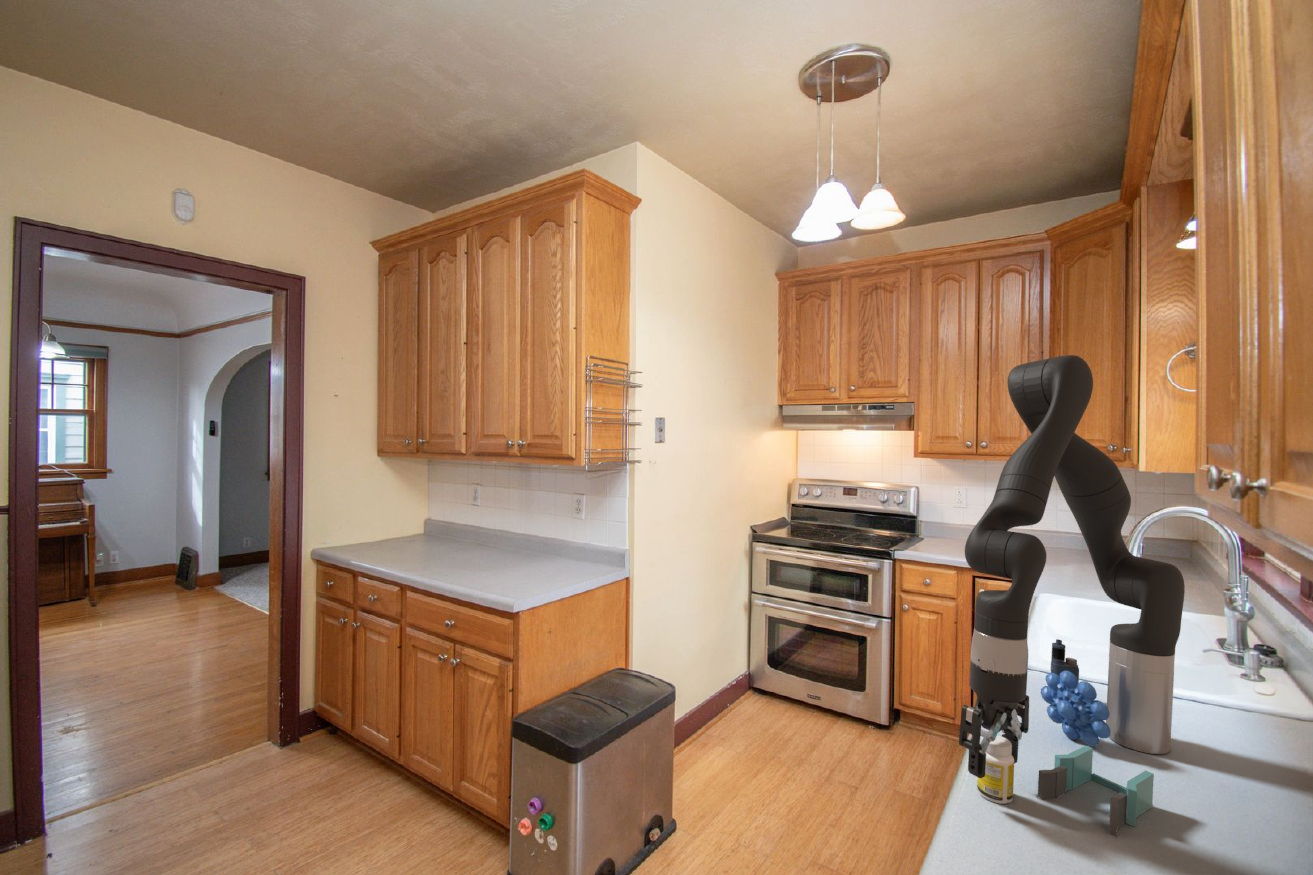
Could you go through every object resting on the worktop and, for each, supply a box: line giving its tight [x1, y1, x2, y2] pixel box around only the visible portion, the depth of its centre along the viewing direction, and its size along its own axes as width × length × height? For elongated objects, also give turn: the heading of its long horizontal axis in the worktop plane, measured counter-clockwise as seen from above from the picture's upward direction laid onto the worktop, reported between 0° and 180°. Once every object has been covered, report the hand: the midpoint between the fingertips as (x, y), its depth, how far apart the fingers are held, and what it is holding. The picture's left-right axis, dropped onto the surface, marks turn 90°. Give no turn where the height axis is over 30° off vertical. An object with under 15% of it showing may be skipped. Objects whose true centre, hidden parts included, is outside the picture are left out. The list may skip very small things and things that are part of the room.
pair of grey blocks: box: [1037, 765, 1127, 838], centre depth 88 cm, size 5×10×4 cm, turn 31°
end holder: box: [1054, 745, 1155, 827], centre depth 92 cm, size 9×11×5 cm
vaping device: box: [1050, 638, 1080, 683], centre depth 127 cm, size 3×5×12 cm, turn 82°
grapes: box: [1040, 671, 1111, 747], centre depth 109 cm, size 12×7×12 cm, turn 28°
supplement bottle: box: [976, 734, 1015, 805], centre depth 91 cm, size 5×5×8 cm
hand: (992, 767), depth 92 cm, fingers open, 8 cm apart
